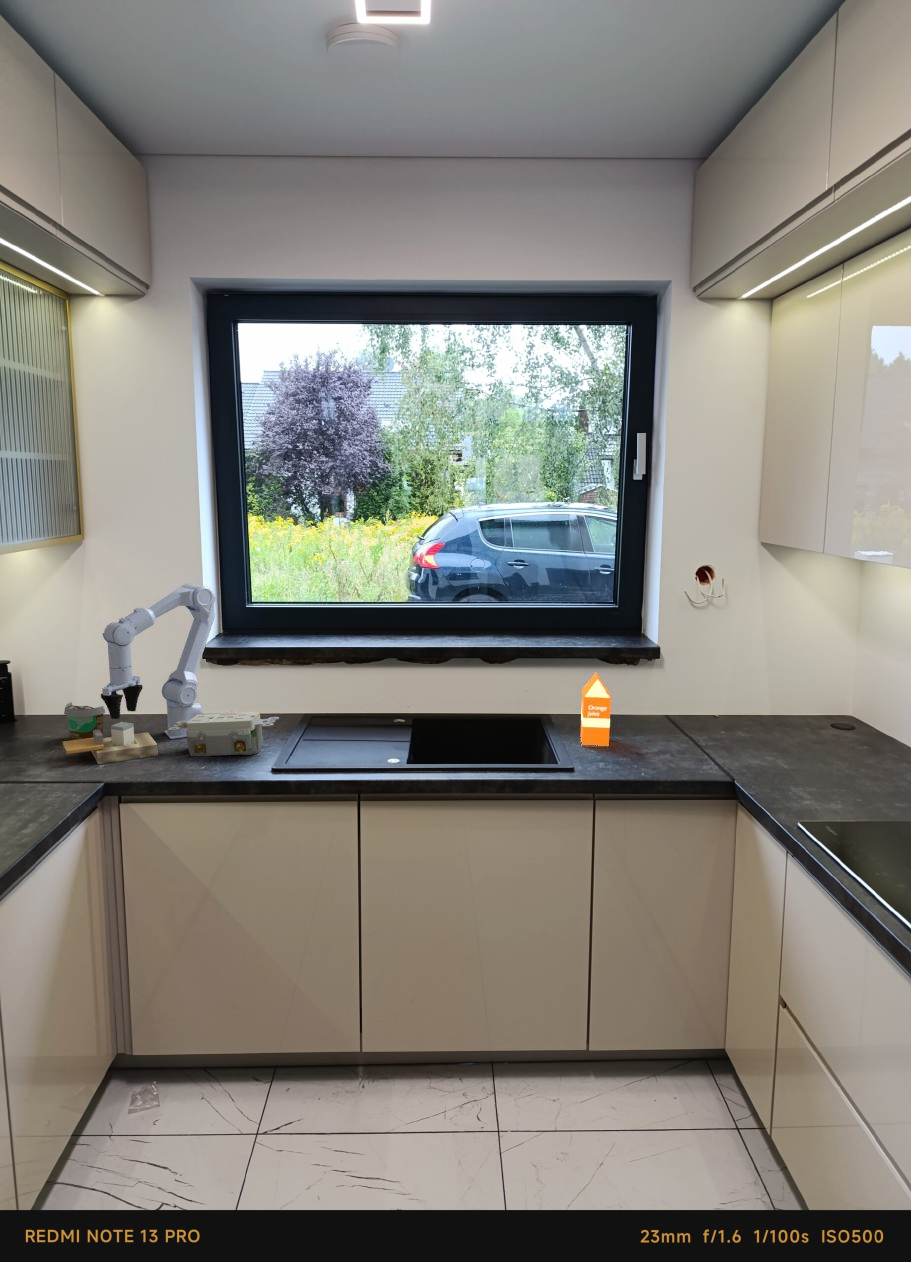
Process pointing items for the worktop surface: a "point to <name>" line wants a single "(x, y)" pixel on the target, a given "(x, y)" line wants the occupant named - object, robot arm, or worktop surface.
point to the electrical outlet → (224, 733)
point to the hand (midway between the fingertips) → (123, 714)
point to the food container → (84, 720)
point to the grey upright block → (122, 734)
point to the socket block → (126, 749)
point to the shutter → (85, 743)
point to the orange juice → (595, 713)
